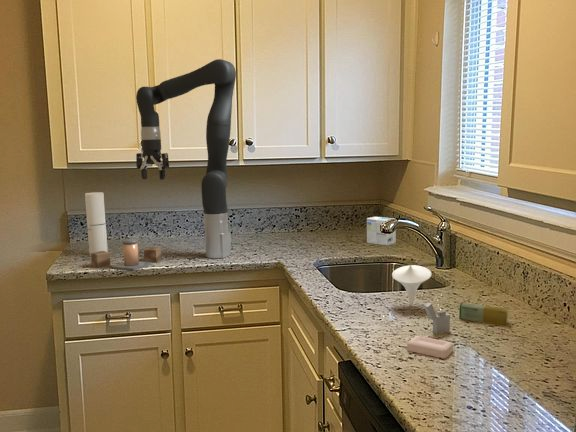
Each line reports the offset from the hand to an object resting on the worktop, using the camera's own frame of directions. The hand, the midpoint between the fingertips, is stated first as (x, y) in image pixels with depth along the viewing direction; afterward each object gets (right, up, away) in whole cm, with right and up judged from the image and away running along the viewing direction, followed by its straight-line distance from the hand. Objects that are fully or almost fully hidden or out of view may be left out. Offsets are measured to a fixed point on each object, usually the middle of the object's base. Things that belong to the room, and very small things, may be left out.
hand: (153, 179), depth 241 cm
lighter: (+90, -44, -92) cm, 136 cm away
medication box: (+104, -42, -84) cm, 141 cm away
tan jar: (-4, -32, -17) cm, 37 cm away
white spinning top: (+88, -40, -71) cm, 120 cm away
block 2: (+2, -32, -9) cm, 33 cm away
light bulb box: (+93, -26, +15) cm, 98 cm away
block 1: (-16, -33, -14) cm, 40 cm away
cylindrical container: (-23, -30, +5) cm, 39 cm away
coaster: (-4, -33, -17) cm, 38 cm away
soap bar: (+86, -46, -103) cm, 142 cm away
